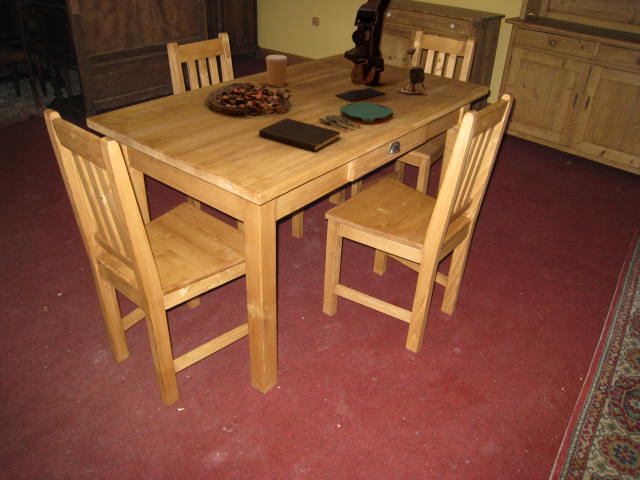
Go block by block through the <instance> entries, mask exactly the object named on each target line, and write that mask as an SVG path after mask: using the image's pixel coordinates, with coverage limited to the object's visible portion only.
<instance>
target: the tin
mask: <svg viewBox="0 0 640 480" xmlns="http://www.w3.org/2000/svg"><path fill="white" fill-rule="evenodd" d="M362 64H365V62H364V63H361V64H358V65H355V64H354V66H353V68H352V70H351V71H350V72H351V73H350V81H351V83H352V85H355V86H358V87H359V86H362V85H367V84H366V83H369V82H371V81H372V80H373V78H374V76H375V73H376V67H373V68H372V70H371V71H370V73H369V75H368V77H367V78H366V80H364V78H363V74H364V67H363V65H362Z"/></svg>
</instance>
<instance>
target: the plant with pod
mask: <svg viewBox="0 0 640 480" xmlns="http://www.w3.org/2000/svg"><path fill="white" fill-rule="evenodd" d="M416 51H417V48H416V47H414V46H413V45H410V46H409V47H408V49H407V51H406V54H405V56H407V55H410V58H411V59H410V60H411V63H410V68H409V83H410V84H406V87H401V89H399V92H401V93H406V94H414V95H415V94H416V95H419V94H420V93H421V90H420V89H416V87H415V86H416V85H419V84H421V86H422V88H423V89H424V90H425V91H426V87H425V85H424V82H425V78H426V76H425V70H424V69H425V68H424V66H422V65H417V66H413V56H414V55H415V53H416Z"/></svg>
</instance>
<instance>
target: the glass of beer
mask: <svg viewBox="0 0 640 480" xmlns="http://www.w3.org/2000/svg"><path fill="white" fill-rule="evenodd" d="M265 63H266V74H267V86H270V85H269V84H271V85H278V86H279V87H278V88H280V87H285V85H286V81H287V67H288V58H287V56H286V55H282V54H269V55H267V56H266V57H265ZM273 87H274V86H273ZM273 87H272V88H273ZM274 88H275V87H274Z"/></svg>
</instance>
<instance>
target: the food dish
mask: <svg viewBox="0 0 640 480" xmlns="http://www.w3.org/2000/svg"><path fill="white" fill-rule="evenodd" d="M256 85H261V87H260V88H259V87H256ZM268 86H269V87H272V88H273V86H274V89H272V90H270V89H268V87H267V83H261V82H254V84H253V82H240V83H238V82H233V83H229V84H227V85H224V86H220V87H218V88H215V89H213V90H212V91H210V92H209V93H208V97H207V99H206V101H207V103H206V105H207V108H209V109H211V110H213V111H215V112H219V113H222V114H226V115H230V116H241V117H242V116H251V117H256V116H266V115H271V114H284V113H285V112H286V111H287V108H288V107H289V106H290V103H289V102H290V101H291V99H290V98H291V97H292V96H293V94H291V92H292V91H291V89H288V88H285V89H284V91H283V90H281V91H280V89H276V88H280V87H279V86H278V85H271V84H269V85H268ZM286 93H288V95H287V97H286V96H285V94H286Z"/></svg>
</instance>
